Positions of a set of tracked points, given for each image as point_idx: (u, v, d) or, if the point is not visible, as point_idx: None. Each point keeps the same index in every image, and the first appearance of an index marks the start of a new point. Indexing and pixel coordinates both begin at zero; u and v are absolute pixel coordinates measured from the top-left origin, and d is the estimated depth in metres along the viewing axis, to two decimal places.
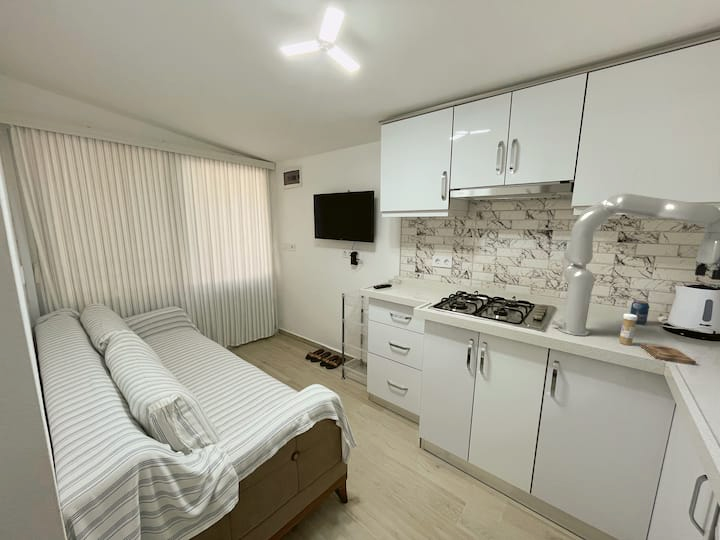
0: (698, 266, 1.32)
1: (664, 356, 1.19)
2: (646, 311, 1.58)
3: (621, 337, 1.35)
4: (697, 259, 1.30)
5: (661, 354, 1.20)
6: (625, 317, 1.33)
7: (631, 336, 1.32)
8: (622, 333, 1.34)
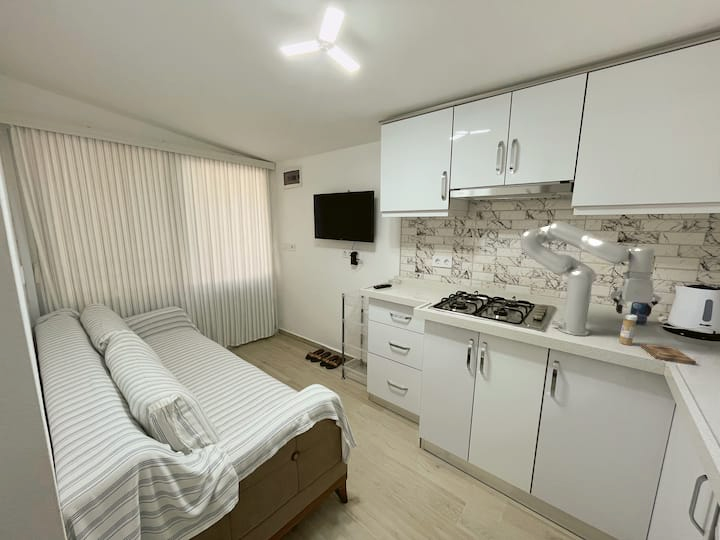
0: (621, 304, 1.32)
1: (664, 356, 1.19)
2: None
3: (621, 337, 1.35)
4: (628, 299, 1.30)
5: (661, 354, 1.20)
6: (625, 317, 1.33)
7: (631, 336, 1.32)
8: (622, 333, 1.34)
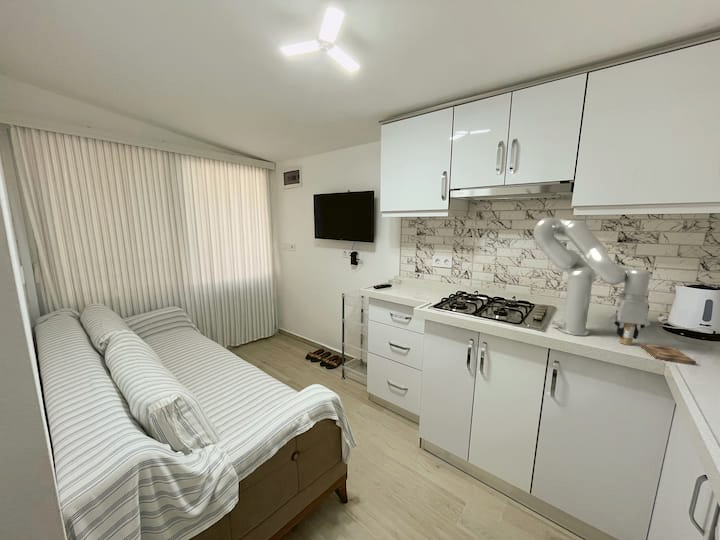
0: None
1: (664, 356, 1.19)
2: None
3: (621, 337, 1.35)
4: (623, 320, 1.32)
5: (661, 354, 1.20)
6: None
7: (631, 336, 1.32)
8: None
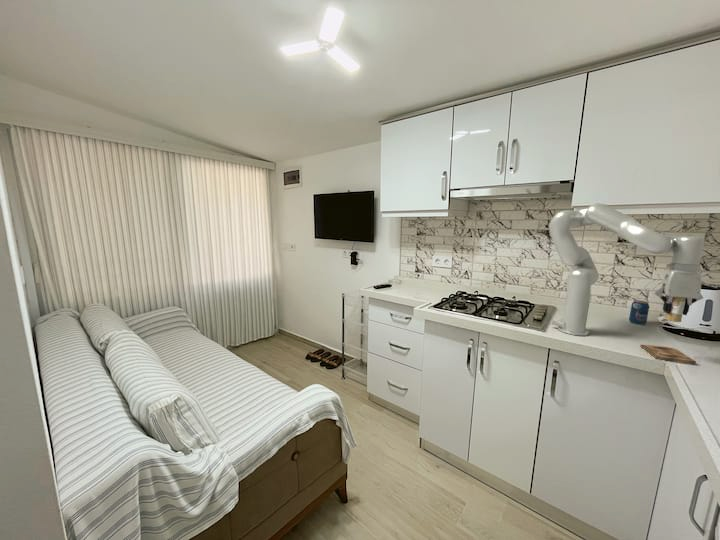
0: None
1: (664, 356, 1.19)
2: (646, 311, 1.58)
3: (668, 313, 1.20)
4: (672, 293, 1.17)
5: (661, 354, 1.20)
6: None
7: (681, 312, 1.18)
8: None
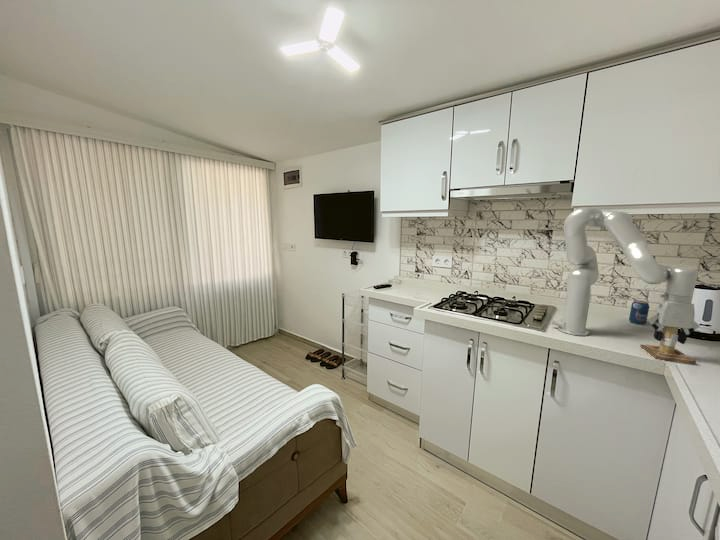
0: None
1: (664, 356, 1.19)
2: (646, 311, 1.58)
3: (661, 345, 1.23)
4: (666, 323, 1.19)
5: (661, 354, 1.20)
6: None
7: (673, 344, 1.20)
8: (662, 341, 1.22)
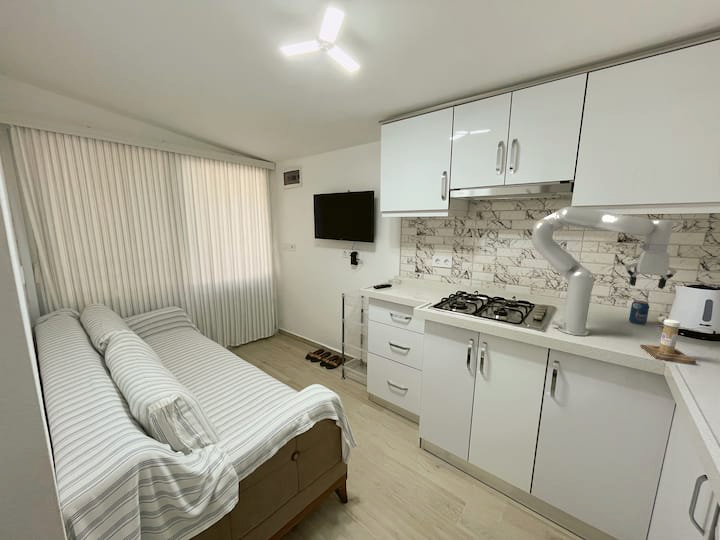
0: (635, 277, 1.34)
1: (664, 356, 1.19)
2: (646, 311, 1.58)
3: (661, 345, 1.23)
4: (643, 271, 1.31)
5: (661, 354, 1.20)
6: (666, 323, 1.21)
7: (673, 344, 1.20)
8: (663, 341, 1.22)
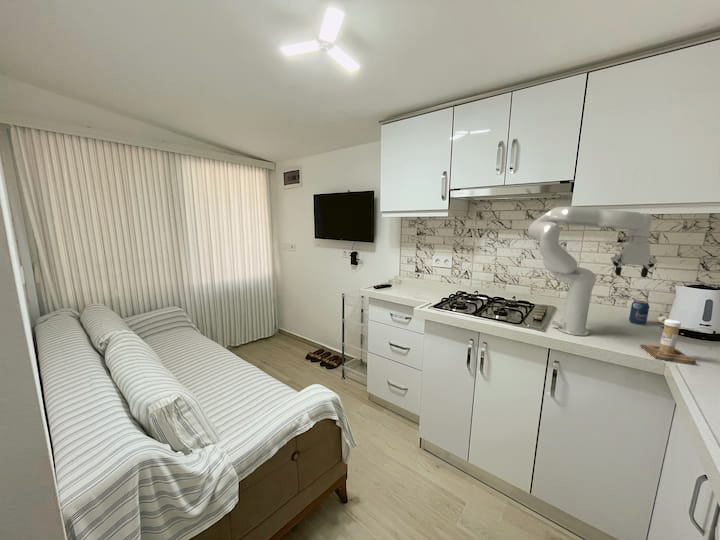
0: (620, 267, 1.43)
1: (664, 356, 1.19)
2: (646, 311, 1.58)
3: (661, 345, 1.23)
4: (627, 261, 1.41)
5: (661, 354, 1.20)
6: (667, 323, 1.21)
7: (673, 344, 1.20)
8: (663, 341, 1.22)
